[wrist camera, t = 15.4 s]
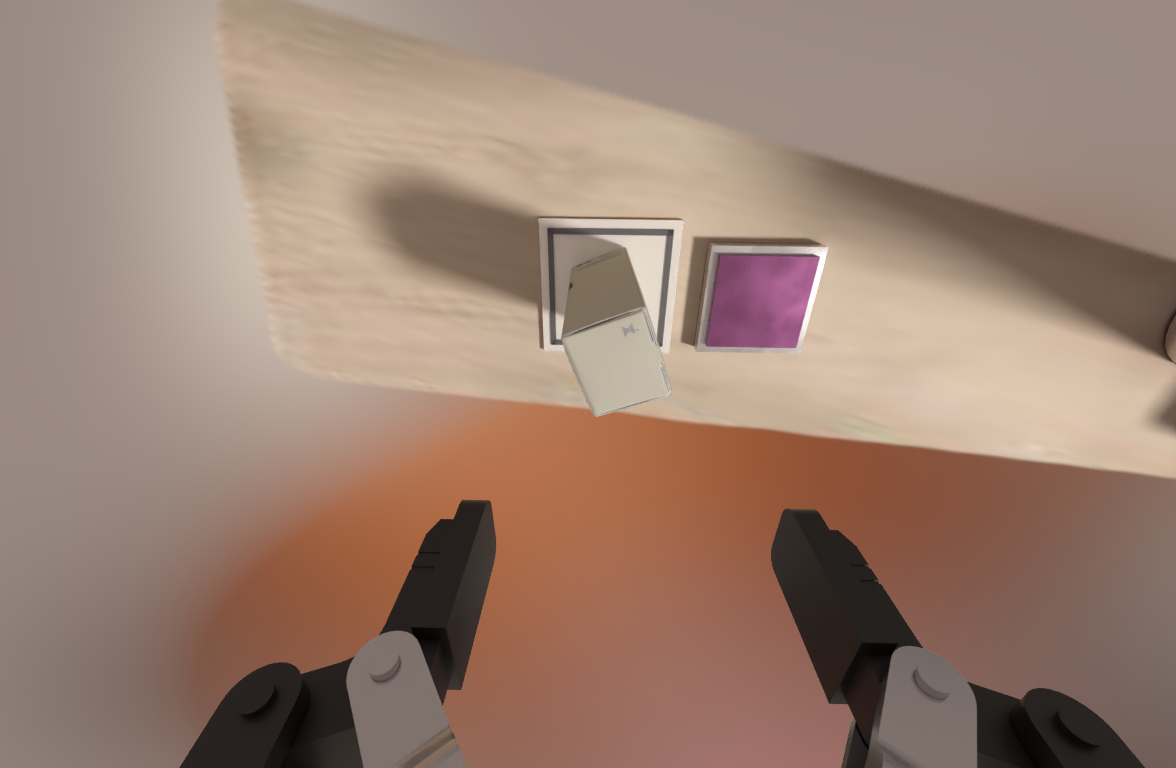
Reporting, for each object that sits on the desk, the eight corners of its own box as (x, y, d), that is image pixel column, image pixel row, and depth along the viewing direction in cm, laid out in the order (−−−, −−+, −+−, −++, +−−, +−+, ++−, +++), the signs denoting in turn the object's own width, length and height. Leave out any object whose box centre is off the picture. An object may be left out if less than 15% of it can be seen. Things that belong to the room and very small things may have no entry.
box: (569, 265, 31) (553, 331, 20) (627, 244, 30) (645, 300, 19) (594, 330, 33) (592, 421, 22) (648, 312, 33) (675, 397, 21)
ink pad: (821, 244, 30) (831, 248, 29) (794, 348, 34) (802, 355, 33) (708, 242, 30) (713, 246, 29) (694, 346, 34) (697, 353, 33)
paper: (682, 219, 30) (683, 220, 29) (668, 351, 34) (669, 353, 34) (538, 218, 30) (538, 218, 29) (544, 349, 35) (543, 351, 34)
